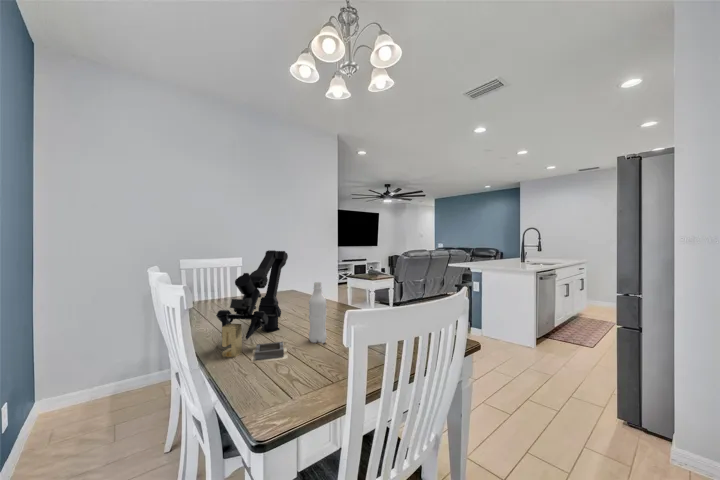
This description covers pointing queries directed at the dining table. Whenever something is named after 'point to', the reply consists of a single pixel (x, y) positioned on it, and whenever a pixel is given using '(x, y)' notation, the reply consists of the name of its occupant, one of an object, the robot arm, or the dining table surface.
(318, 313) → the water bottle
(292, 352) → the dining table surface
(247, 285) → the robot arm
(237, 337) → the brass link
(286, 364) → the dining table surface
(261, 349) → the grey square tray
